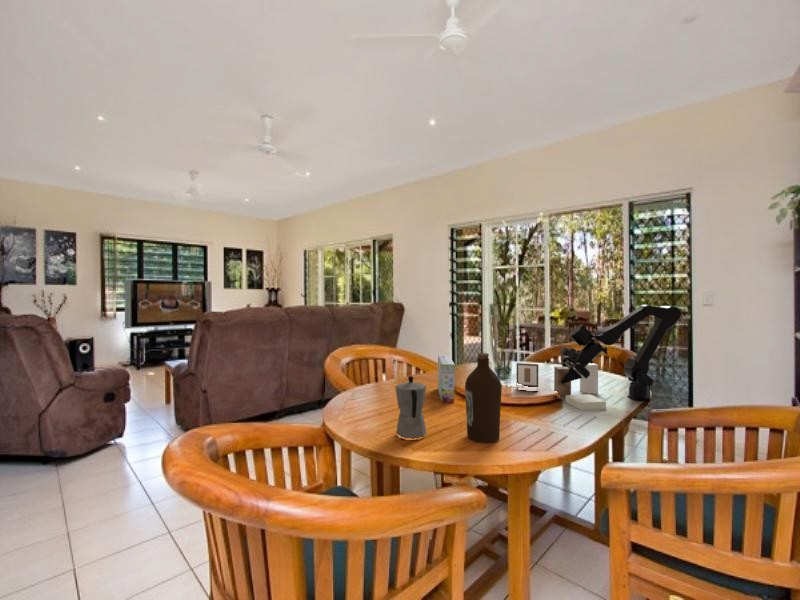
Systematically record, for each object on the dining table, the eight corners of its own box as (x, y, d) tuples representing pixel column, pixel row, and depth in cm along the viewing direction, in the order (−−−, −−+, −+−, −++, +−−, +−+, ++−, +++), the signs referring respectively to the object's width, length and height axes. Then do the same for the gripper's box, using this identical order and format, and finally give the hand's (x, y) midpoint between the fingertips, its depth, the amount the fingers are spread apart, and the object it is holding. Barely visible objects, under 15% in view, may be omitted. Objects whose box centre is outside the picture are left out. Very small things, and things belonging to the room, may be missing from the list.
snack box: (455, 402, 151) (455, 364, 150) (441, 402, 151) (441, 364, 150) (449, 388, 172) (449, 354, 171) (437, 388, 172) (436, 354, 171)
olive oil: (496, 430, 121) (496, 350, 120) (505, 444, 110) (505, 356, 109) (462, 430, 121) (462, 350, 120) (468, 444, 110) (468, 356, 110)
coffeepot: (393, 428, 124) (393, 371, 123) (423, 426, 125) (422, 371, 124) (398, 447, 108) (397, 383, 108) (431, 446, 109) (431, 382, 109)
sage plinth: (589, 401, 152) (590, 394, 152) (605, 409, 142) (606, 401, 142) (565, 402, 151) (565, 395, 151) (579, 410, 141) (579, 402, 141)
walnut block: (566, 395, 159) (567, 366, 159) (570, 399, 154) (571, 369, 154) (554, 395, 160) (554, 366, 159) (557, 398, 155) (558, 368, 154)
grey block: (590, 390, 167) (591, 362, 167) (598, 393, 162) (598, 364, 162) (579, 390, 167) (580, 362, 166) (586, 393, 162) (586, 365, 161)
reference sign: (516, 387, 173) (516, 362, 173) (538, 388, 170) (538, 363, 170) (516, 390, 168) (516, 364, 167) (538, 392, 165) (538, 365, 164)
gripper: (565, 336, 165) (538, 362, 167) (581, 343, 147) (551, 371, 148) (584, 355, 165) (557, 380, 166) (603, 364, 146) (572, 392, 147)
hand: (559, 380), depth 157 cm, fingers open, 6 cm apart
